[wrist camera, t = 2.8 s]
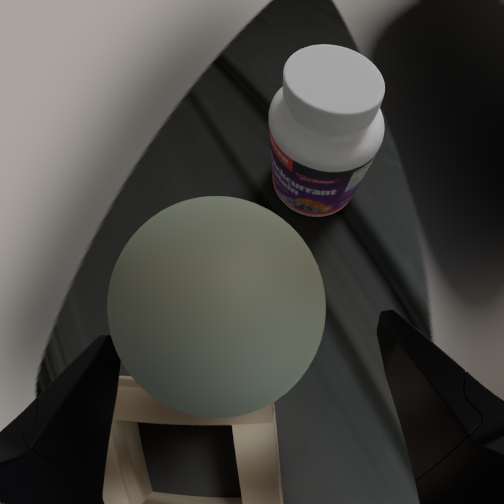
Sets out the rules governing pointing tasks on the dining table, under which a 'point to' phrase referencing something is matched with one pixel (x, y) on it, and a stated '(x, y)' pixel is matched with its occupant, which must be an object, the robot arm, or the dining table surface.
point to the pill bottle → (324, 128)
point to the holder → (152, 411)
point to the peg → (216, 307)
